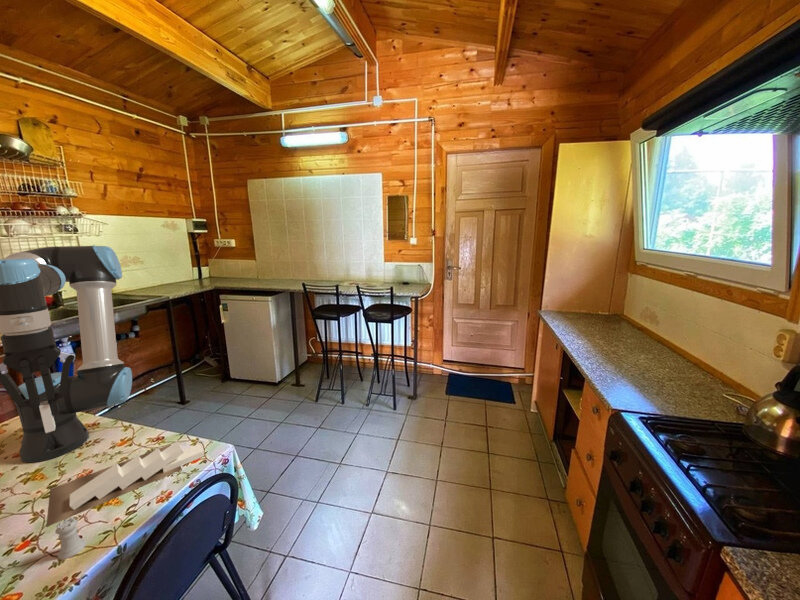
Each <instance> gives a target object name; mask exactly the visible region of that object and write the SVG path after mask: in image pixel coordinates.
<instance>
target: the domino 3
mask: <svg viewBox="0 0 800 600" xmlns="http://www.w3.org/2000/svg"><path fill="white" fill-rule="evenodd" d="M152 451H153V452H152V453H150V454H149V455H147V456H146V457H144V458H143V459H142V462H143V465H144V469H142V470H141V471H140V472H138V473H137V474H135V475H134V476H132V477H131V478H130V479H128V480H127V481H125V482H124V483H122V484H121V485H120V486H119V487H120V488H121V489H122V490H123V489H125V488H126V487H128V486H129V485H130V484H132V483H133V482H135V481H136V480H137V479H139V478H140V477H142V476H143V475H145V474H146V473H147V472H149V471H150V470H152V469H153V468H154V467H156V466H157V465H159V464H160V463H162V462H163V461H164V458H163V455H162V453H161V451H160V450H159V448H156V449H155V451H154V450H152Z"/></svg>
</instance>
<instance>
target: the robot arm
mask: <svg viewBox="0 0 800 600" xmlns="http://www.w3.org/2000/svg"><path fill="white" fill-rule="evenodd" d="M121 267H122V266H121V263H120V261H119V258H118V256H117V254H116V252H115V251H114V250H113V249H112V248H111V247H109V246H107V245H94V244H93V245H79V246H78V245H77V246H76V245H75V246H74V245H73V246H71V245H70V246H47V247H46V246H45V247H39V248H38V247H37V248H34V249H33V248H32V249H29V250H24V251H19V252H18V251H17V252H14V253H11V254H9V255H7V256H5V258H0V334H1V336H0V343H1V345H2V349H3V352H4V357H3V359H2V362H1V363H0V384H1V385H2V387H3V388H4V389H5V391H6V393H7V394H8V395H9V396H10V398H11V399H12V400H13V401H14V404H15V406H16V409H17V412H18V413H17V414H18V417H19V420H20V424H21V428H22V432H23V436H22V440H21V446H20V449H19V456H20V460H21V462H24V463H38V462H39V463H40V462H43V461H48V460H52V459H54V458H57V457H61V456H63V455H65V453H66V454H68V453H70V452H72V451H74V450H76V449H78V448H79V446H80V447H81V446H82V445H84V444H85V443H86V442H88V440H89V438H90V434H89V431H88V429H87V427H86V426H85V425H84V424H83V422H82V421H81V420H80V419H79V418H78V415H77V414H78V413H80V412H87V411H92V410H97V409H101V408H105V407H106V408H107V407H109V408H110V407H112V406H116V405H120V404H123V403H125V402H126V401H127V400H128V399H129V397H130V394H131V392H132V386H133V371H132V369H131V367H128V366H125V362H124V361H122V359H119V356H118V345H117V339H116V338H117V337H116V335H117V334H116V326H115V324H116V323H115V316H114V302H113V294H112V293H113V292H112V290H113V289H114V288H116V286H117V280H120V279H122V277H123V275H122V274H123V271H122V268H121ZM66 283H69V287H70V288H72V289H73V290H74V291H76V298H77V299H76V300H77V310H78V313H77V314H78V323H79V333H80V334H79V335H80V343H81V344H80V347H81V356H82V364H81V365H80V366H79V367H78V368H77V369H76V374H77V375H73V376H72V375H71V376H69V375H70V368H71V367H70V366H71V365H72V363H73V362H74V361H75V357H76V355H75V353H73V352H70V353H68V352H63V351H61V349H60V348H59V347H58V346H57V344H56V339H55V335H54V330H53V329H52V328H51V325H52V321H51V317H50V313H49V308H48V304H47V299H46V297H47V296H51V295H55V294H56V293H58V292H59V291H60V290H62V289H63V288H64V287H65V285H66ZM58 358H60V359H59V362H61V363H62V367H61V371H59V372H53V373H52V372H51V369H50V368H51V367H53V365H54V364H55V362H56V361H57V359H58ZM9 368H10V369H12V370H13V371H16V372H18V373H20V374H22V378H23V380H24V382H23V383H22V384H19V386H18V385H17V384H16V382H15V380H14V379H13V377H12V376H11V375H10V374H9ZM35 372H40V375H41V376H38V377H36V378H35V375H34V373H35ZM87 439H88V440H87ZM84 442H85V443H84ZM83 443H84V444H83ZM77 447H78V448H77Z"/></svg>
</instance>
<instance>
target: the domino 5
mask: <svg viewBox="0 0 800 600" xmlns="http://www.w3.org/2000/svg"><path fill="white" fill-rule="evenodd" d="M183 451H184V453H183V454H181V455H180V456H179V457H177V458H176V459H174V460H173V461H172V462H170V463H169V464H167V465H166V466H165V467H163V468H162V470H163V472H164V473H165V472H167V471H170V470H172V469H174V468H177V467H179V466H184V465H186V464H188V463H191V462H194V461H195V460H196V461H197V460H199V459H200V458H203V457H205V450H204V449H203V447H202V445H201V444H200V443H197V444H195V445H193V446H189V447H187V448H184V449H183Z"/></svg>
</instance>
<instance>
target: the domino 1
mask: <svg viewBox="0 0 800 600" xmlns="http://www.w3.org/2000/svg"><path fill="white" fill-rule="evenodd" d="M118 464H119V463H115V464H113V465H114V466H113V465H111V466H112V467H111V466H110V467H111V468H109V469H108V470H106V471H105V472H103V473H102V474H100V475H99V476H97V477H96V478H94V479H93V480H91V481H89V482H88V483H86V484H85V485H83V486H82V487H80V488H79V489H77V490H76V491H74V492H73V493H71V494H70V507H71V508H72V509H73V510H75V509H77V508H78V507H79V506H81V505H82V504H84V503H85V502H87V501H88V500H90V499H91V498H92V497H94V496H95V495H97V494H98V493H100V492H101V491H103V490H104V489H106V488H107V487H108V486H110V485H111V484H113V483H114V482H116V481H117V480H119V479H120V478H121V477H122V472H121V467H120V466H119V465H118Z"/></svg>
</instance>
